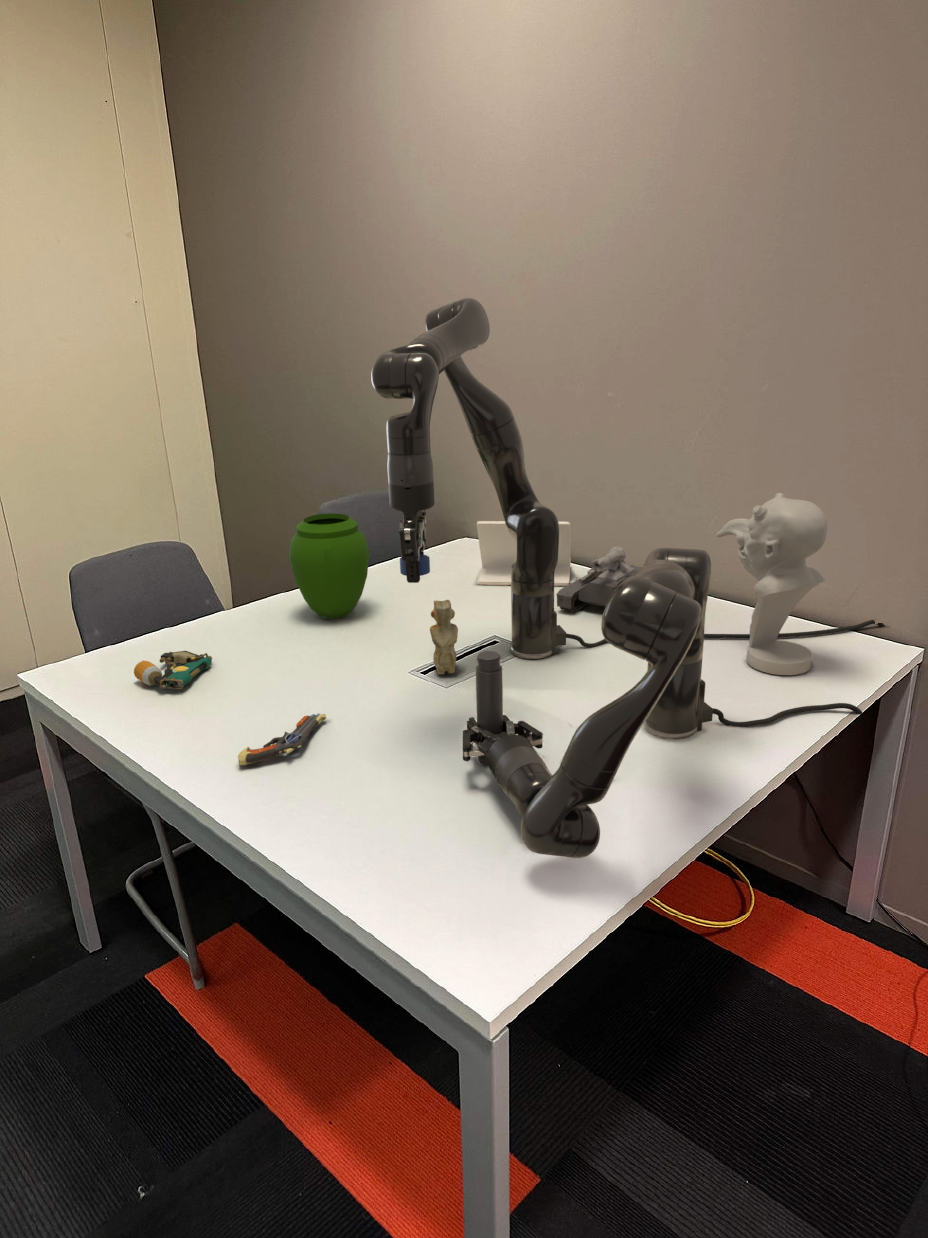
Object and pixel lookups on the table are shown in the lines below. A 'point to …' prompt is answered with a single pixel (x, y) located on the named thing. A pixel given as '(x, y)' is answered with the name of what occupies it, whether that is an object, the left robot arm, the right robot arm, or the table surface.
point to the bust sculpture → (778, 575)
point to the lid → (423, 563)
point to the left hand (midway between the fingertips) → (415, 576)
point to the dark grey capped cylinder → (489, 693)
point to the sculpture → (444, 637)
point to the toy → (597, 582)
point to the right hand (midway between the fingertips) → (485, 720)
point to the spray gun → (172, 669)
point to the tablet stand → (514, 553)
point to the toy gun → (282, 741)
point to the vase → (329, 563)
